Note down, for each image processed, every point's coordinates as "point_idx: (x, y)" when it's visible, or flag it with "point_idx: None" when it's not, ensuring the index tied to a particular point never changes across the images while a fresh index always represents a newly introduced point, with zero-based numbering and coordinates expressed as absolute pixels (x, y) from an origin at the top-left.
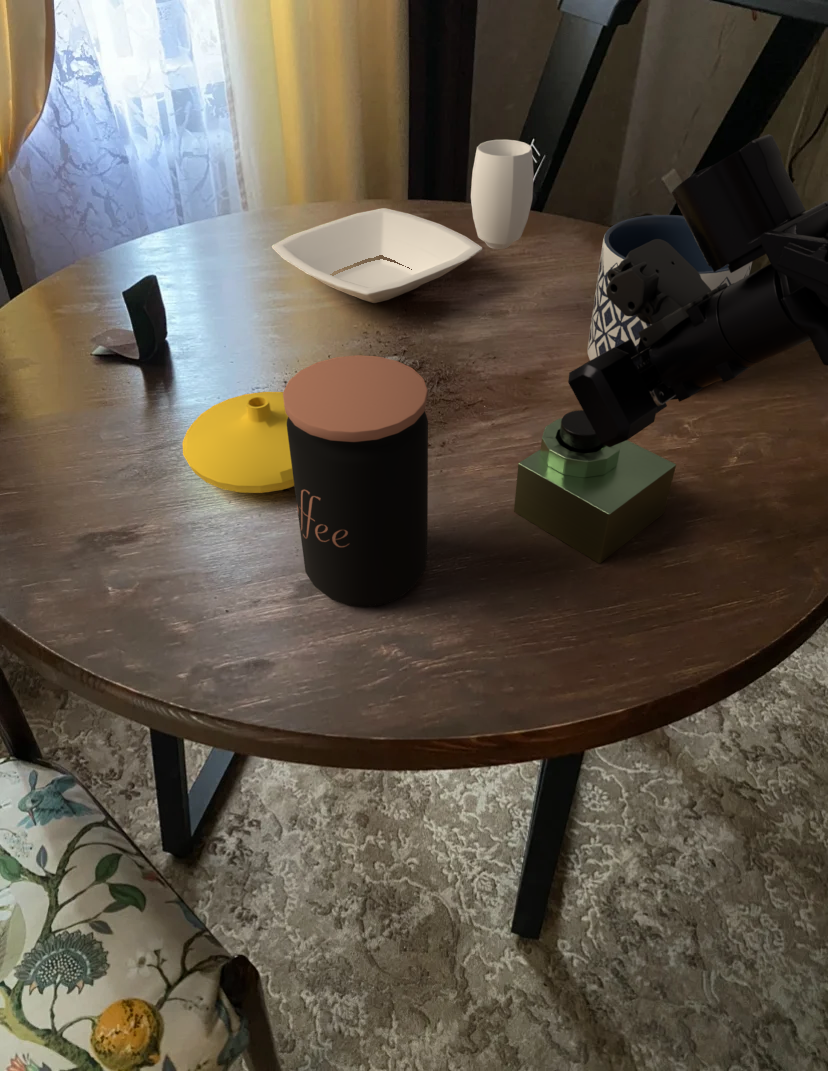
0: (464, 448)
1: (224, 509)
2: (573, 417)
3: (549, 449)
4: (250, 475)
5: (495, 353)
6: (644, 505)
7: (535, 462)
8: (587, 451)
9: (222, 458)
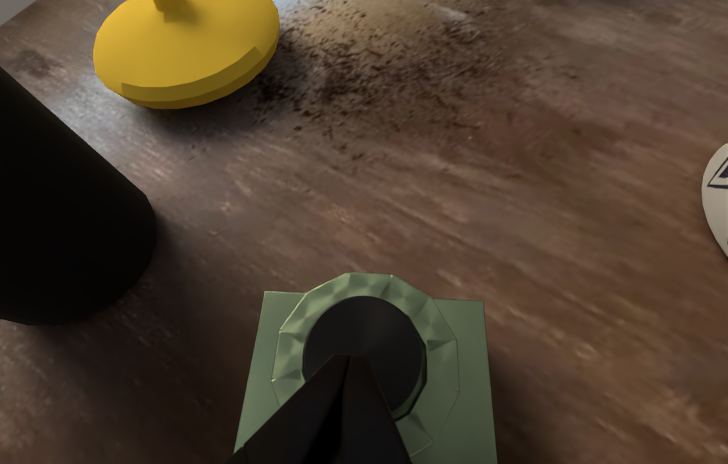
0: (370, 179)
1: None
2: (361, 318)
3: (280, 330)
4: (101, 69)
5: (583, 71)
6: None
7: (285, 313)
8: None
9: (108, 34)
